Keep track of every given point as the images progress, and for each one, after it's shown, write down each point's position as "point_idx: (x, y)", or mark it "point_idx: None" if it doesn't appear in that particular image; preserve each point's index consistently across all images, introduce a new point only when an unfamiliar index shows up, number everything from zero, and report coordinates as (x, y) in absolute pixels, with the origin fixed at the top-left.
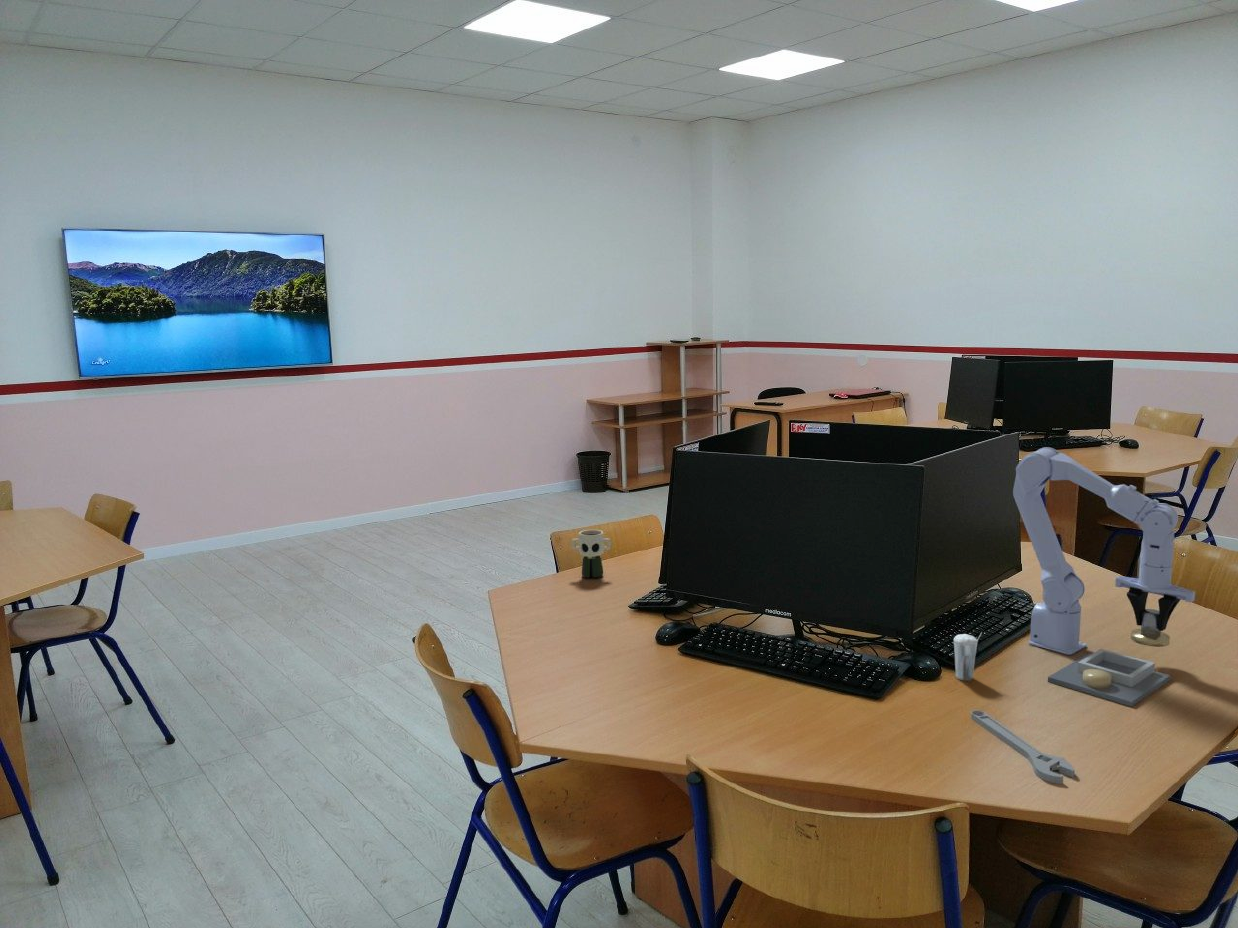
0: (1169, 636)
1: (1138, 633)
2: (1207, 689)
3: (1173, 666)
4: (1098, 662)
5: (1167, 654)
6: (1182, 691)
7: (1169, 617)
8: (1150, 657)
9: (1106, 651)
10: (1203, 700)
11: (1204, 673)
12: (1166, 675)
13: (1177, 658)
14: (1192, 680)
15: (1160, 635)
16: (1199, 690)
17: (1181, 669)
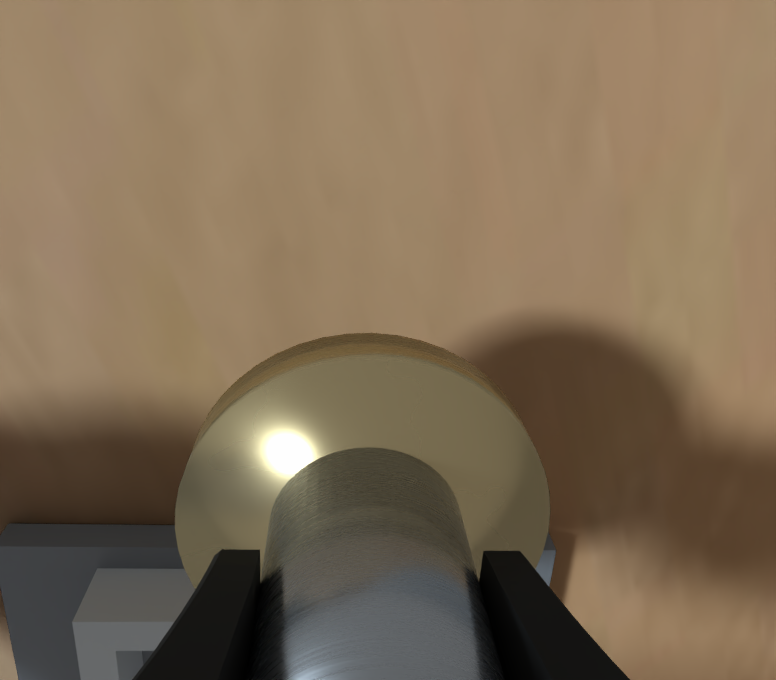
0: (534, 450)
1: (260, 568)
2: (752, 518)
3: (508, 290)
4: (140, 658)
5: (396, 40)
6: (636, 625)
7: (604, 652)
8: (316, 219)
9: (130, 644)
10: (744, 657)
11: (714, 276)
12: (536, 567)
13: (490, 84)
14: (661, 448)
15: (451, 480)
16: (714, 558)
17: (567, 309)
